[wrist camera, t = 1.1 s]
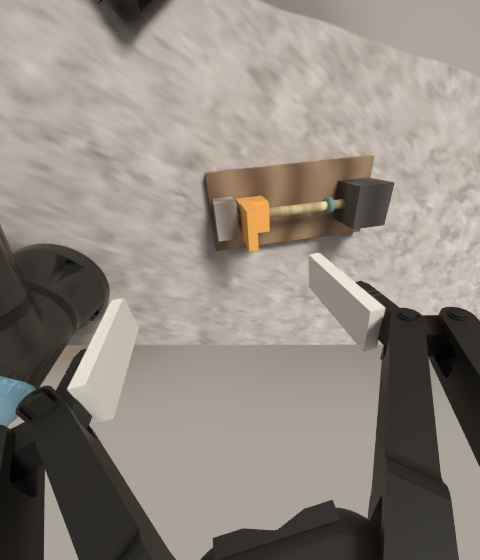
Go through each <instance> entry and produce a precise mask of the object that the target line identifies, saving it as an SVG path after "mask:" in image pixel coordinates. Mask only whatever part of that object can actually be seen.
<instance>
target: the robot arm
mask: <svg viewBox="0 0 480 560" xmlns="http://www.w3.org/2000/svg"><path fill="white" fill-rule="evenodd" d="M309 287H310V288H311V290H312V291H313V292H314V293H315V294H316V296H317V297H318V298H319V299H320V300H321V302H322V303H323V304H324V305H325V306H326V308H327V309H328V310H329V311H330V312H331V313H332V315H333V316H334V317H335V318H336V319H337V321H338V322H339V323H340V324H341V325H342V327H343V328H344V329H345V330H346V331H347V333H348V334H349V335H350V336H351V337H352V338H353V340H354V341H355V342H356V343H357V344H358V346H359V347H360V348H361V349H362V350H363V351H366V350H370V349H374V348H376V347H377V344H378V340H379V341H380V342H381V343H382V344H383V345H384V346H383V350H382V354H381V359H382V365H381V378H380V390H379V404H378V416H377V429H376V442H375V455H374V467H373V481H372V490H371V496H370V502H369V510H368V519H367V518H365V517H363V516H361V515H360V514H358V513H356V512H353V511H350V510H347V509H343V508H335V505H334V503H333V500H330V501H327V502H324V503H321V504H318V505H315V506H312V507H309V508H305V509H303V510H302V511H301V512H300V513H298V514H297V515H296V516H294V517H293V518H292V519H291V520H289V521H288V522H287V523H286V524H284V525H283V526H282V527H281V528H279V529H278V530H274V531H273V530H257V529H240V530H237V531H234V532H231V533H228V534H224V535H221V536H218V537H215V538H213V548H212V549H211V550H209V551H208V552H207V553H206V554H205V555H204V556H203V557H202V559H201V560H459V557H458V550H457V543H456V534H455V526H454V518H453V510H452V502H451V497H450V492H449V489H448V487H447V485H446V484H445V483H444V482H443V481H442V478H441V473H440V464H439V453H438V444H437V435H436V425H435V416H434V407H433V397H432V389H431V378H430V370H429V369H430V368H429V359H430V361H431V363H432V365H433V368H434V370H435V372H436V374H437V376H438V378H439V381H440V383H441V385H442V387H443V389H444V391H445V393H446V396H447V398H448V400H449V402H450V404H451V406H452V408H453V411H454V413H455V415H456V417H457V419H458V421H459V423H460V426H461V428H462V430H463V432H464V434H465V436H466V438H467V440H468V443H469V445H470V447H471V449H472V451H473V453H474V455H475V457H476V460H477V462H478V464H479V466H480V321H479V320H478V319H477V317H476V316H475V315H473V314H472V313H471V312H469V311H467V310H464V309H461V308H457V307H445V308H442V309H441V311H440V313H439V315H421V314H420V313H419V312H417V311H415V310H412V309H408V308H399V307H398V306H397V305H395V304H394V303H393V302H392V301H390V300H389V299H388V298H386V297H385V296H384V295H383V294H381V293H380V292H379V291H377V290H376V289H375V288H374V287H372V286H371V285H370V284H367V283H365V282H362V281H358V282H354V281H353V280H352V279H350V278H349V277H348V276H347V275H346V274H344V273H343V272H342V271H341V270H340V269H338V268H337V267H336V266H335V265H334V264H332V263H331V262H330V261H329V260H328V259H326V258H325V257H324V256H323V255H322V254H320V253H315V254H310V255H309ZM108 298H109V285H108V282H107V279H106V277H105V275H104V273H103V272H102V271H101V269H100V268H99V267H98V266H97V265H96V264H95V263H94V262H93V261H92V260H90V259H89V258H88V257H86V256H85V255H83V254H81V253H79V252H77V251H75V250H73V249H70V248H67V247H64V246H60V245H54V244H35V245H31V246H27V247H24V248H22V249H20V250H19V251H17V252H15V253H14V254H13V253H12V251H11V249H10V246H9V244H8V242H7V239H6V237H5V235H4V232H3V230H2V228H1V225H0V560H44V492H45V490H44V489H45V470H46V473H47V475H48V478H49V481H50V483H51V486H52V489H53V491H54V494H55V497H56V500H57V502H58V505H59V508H60V510H61V513H62V516H63V518H64V521H65V524H66V527H67V529H68V532H69V535H70V537H71V540H72V543H73V545H74V548H75V551H76V554H77V556H78V559H79V560H176V559H175V558H174V556H173V555H172V554H171V553H170V551H169V550H168V548H167V547H166V545H165V544H164V542H163V540H162V539H161V537H160V536H159V534H158V532H157V531H156V529H155V528H154V526H153V524H152V523H151V521H150V520H149V518H148V517H147V515H146V513H145V512H144V510H143V509H142V507H141V505H140V504H139V502H138V501H137V500H136V497H135V496H134V494H133V493H132V491H131V490H130V488H129V486H128V485H127V483H126V482H125V480H124V479H123V477H122V475H121V474H120V472H119V471H118V469H117V467H116V466H115V464H114V463H113V461H112V459H111V458H110V456H109V455H108V453H107V452H106V450H105V448H104V447H103V445H102V444H101V442H100V440H99V439H98V437H97V436H96V434H95V433H94V431H93V429H92V428H91V427H90V426H89V423H90V421H91V418H92V417H93V419H94V420H95V421H96V422H97V423H100V422H104V421H108V420H111V419H114V416H115V412H116V409H117V405H118V401H119V398H120V394H121V391H122V387H123V383H124V380H125V376H126V373H127V369H128V365H129V362H130V358H131V355H132V351H133V347H134V344H135V340H136V336H137V333H138V329H139V327H138V325H137V323H136V321H135V319H134V317H133V315H132V314H131V312H130V310H129V308H128V306H127V304H126V302H125V300H124V298H120V299H115V300H112V301H111V302H110V304H109V306H108V308H107V310H106V312H105V314H104V316H103V318H102V320H101V322H100V324H99V326H98V328H97V330H96V332H95V334H94V336H93V338H92V340H91V342H90V344H89V346H88V348H87V349H83V350H81V351H80V352H79V353H78V354H77V355H76V356H75V357H74V358H73V360H72V362H71V364H70V366H69V368H68V369H67V371H66V374H65V375H64V377H63V379H62V380H61V382H60V384H59V386H58V388H57V390H56V391H55V390H54V389H53V388H52V387H51V386H43V387H40V385H41V384H42V382H43V381H44V379H45V378H46V376H47V374H48V373H49V371H50V370H51V368H52V367H53V365H54V364H55V362H56V361H57V359H58V357H59V356H60V354H61V353H62V351H63V350H64V348H65V347H66V345H67V344H68V342H69V340H70V339H71V337H72V336H73V334H74V333H75V332H77V331H78V330H80V329H81V328H82V327H84V326H85V325H87V324H88V323H90V322H91V321H93V320H94V319H95V318H96V317H97V316H98V315H99V314H100V313H101V312H102V310H103V308H104V307H105V305H106V303H107V301H108ZM428 357H429V359H428ZM39 387H40V388H39ZM18 416H19V417H20V418H21V419H22V420H24V421H25V422H24V423H22V424H20V425H18V426H16V427H14V428H12V429H9V428H8V427H7V426H8V425H9V424H10V423H12V422H13V421H14V420H15V419H16V418H17V417H18Z"/></svg>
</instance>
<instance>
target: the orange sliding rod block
mask: <svg viewBox="0 0 480 560" xmlns="http://www.w3.org/2000/svg"><path fill="white" fill-rule="evenodd" d="M236 204H237V209H238V210H239V212H240V221H239V222H238V227H239V230H240V232H241V234H242V235H243V240H244V242H245V244H246V246H247V248H248V250H249V252H252V251H259V246H258V233H262V232H269V231H270V222H269V203H268V200H266V199H265V198H264V197H263V196H254V197H246V198H237V199H236Z"/></svg>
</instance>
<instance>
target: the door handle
mask: <svg viewBox="0 0 480 560" xmlns="http://www.w3.org/2000/svg"><path fill="white" fill-rule="evenodd" d="M101 1H102V0H100V1H99V2H101ZM108 1H109V3H110V4H111V6H112V7H113V9H114V10H115V12H116V13H117V14H118V15H119V16H120V17H121V18H122V19H124V20H126V21H133V20H135V19H136V18H137V17H138V16H139V13H140V11H141V10H142V9H143V8H144V7H145V6H147V5H148V4H149V3H150V2H151V1H152V0H108Z"/></svg>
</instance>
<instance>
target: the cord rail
mask: <svg viewBox="0 0 480 560" xmlns="http://www.w3.org/2000/svg"><path fill="white" fill-rule="evenodd" d="M373 160H374V156H359V157H349V158H340V159H330V160H321V161H311V162H302V163H292V164H283V165H273V166H264V167H254V168H245V169H235V170H226V171H216V172H207V173H205V176H206V183H207V190H208V197H209V204H210V211H211V218H212V225H213V232H214V239H215V246H216V251H219V250H226V249H233V248H241V247H247V246H246V244H245V242H244V240H243V235H242V234H241V232H240V230H239V227H238V222H239V221H240V212H239V210H238V209H237V204H236V199H237V198H246V197H254V196H263V197H264V198H265V199H266V200H268V203H269V222H270V231H269V232H262V233H258V245H263V244H270V243H277V242H284V241H292V240H299V239H306V238H314V237H321V236H328V235H335V234H343V233H350V232H357V231H360V228H366V227H373V226H381V225H384V224H385V219H386V215H387V211H388V207H389V203H390V199H391V195H392V191H393V187H394V182H389V181H384V180H378V179H373V178H370V176H371V170H372V165H373Z"/></svg>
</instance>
